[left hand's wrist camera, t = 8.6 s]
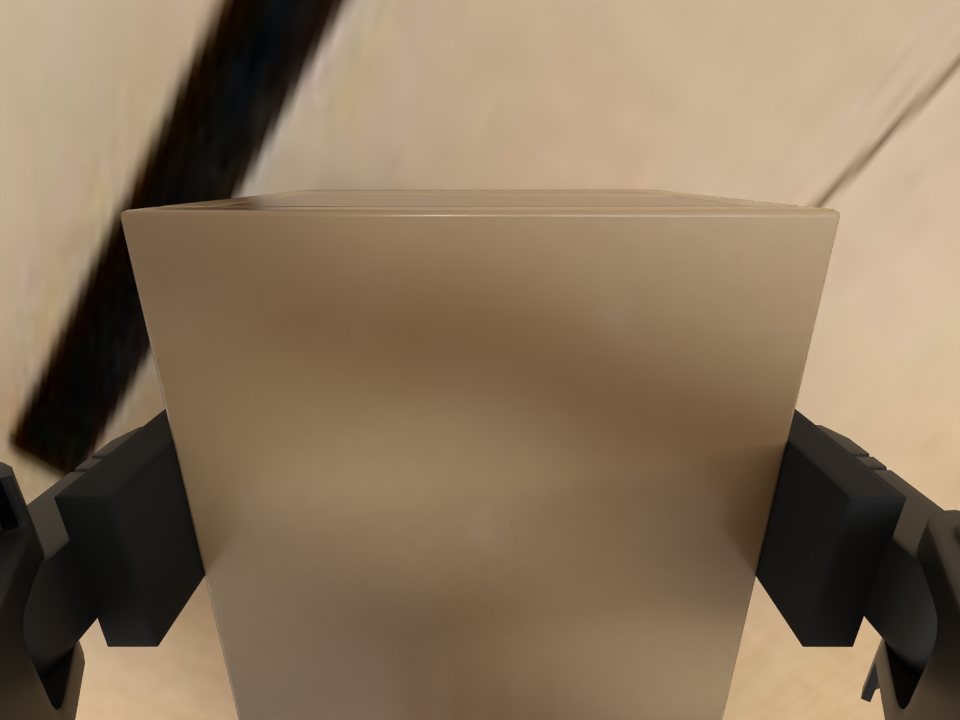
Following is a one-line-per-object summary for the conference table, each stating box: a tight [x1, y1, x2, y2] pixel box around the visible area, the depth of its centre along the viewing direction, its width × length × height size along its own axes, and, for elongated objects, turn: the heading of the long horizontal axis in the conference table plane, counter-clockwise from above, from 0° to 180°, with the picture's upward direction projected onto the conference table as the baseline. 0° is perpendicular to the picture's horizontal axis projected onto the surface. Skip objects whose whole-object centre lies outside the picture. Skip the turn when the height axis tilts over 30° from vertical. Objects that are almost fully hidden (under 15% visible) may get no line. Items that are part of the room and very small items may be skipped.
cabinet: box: [121, 190, 840, 720], centre depth 14 cm, size 21×10×8 cm, turn 0°
